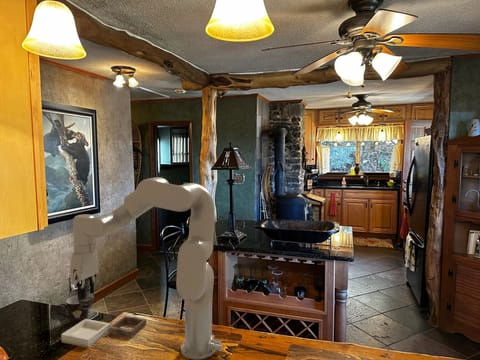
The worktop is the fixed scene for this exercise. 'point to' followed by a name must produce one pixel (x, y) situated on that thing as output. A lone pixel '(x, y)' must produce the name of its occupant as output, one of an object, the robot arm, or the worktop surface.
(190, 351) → the robot arm
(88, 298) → the salt shaker
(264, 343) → the worktop surface
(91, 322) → the tray
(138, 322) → the tray
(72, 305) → the coffee mug
